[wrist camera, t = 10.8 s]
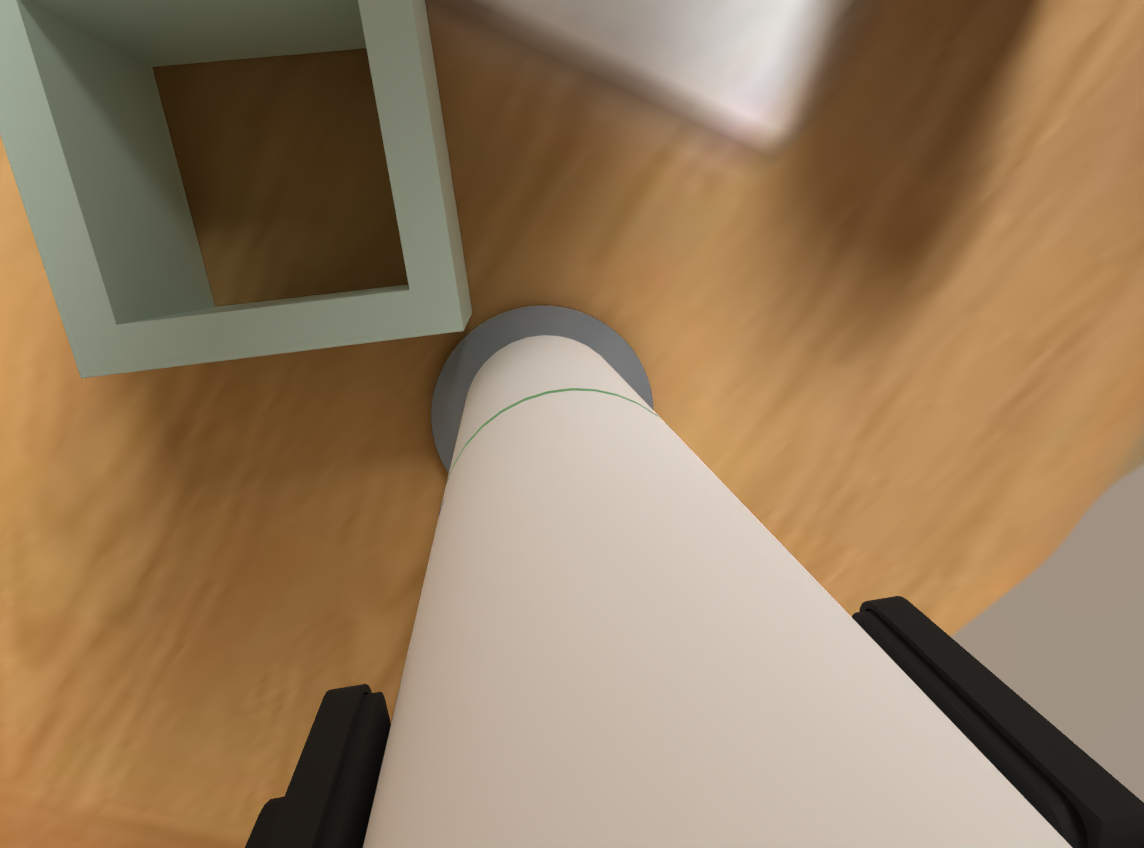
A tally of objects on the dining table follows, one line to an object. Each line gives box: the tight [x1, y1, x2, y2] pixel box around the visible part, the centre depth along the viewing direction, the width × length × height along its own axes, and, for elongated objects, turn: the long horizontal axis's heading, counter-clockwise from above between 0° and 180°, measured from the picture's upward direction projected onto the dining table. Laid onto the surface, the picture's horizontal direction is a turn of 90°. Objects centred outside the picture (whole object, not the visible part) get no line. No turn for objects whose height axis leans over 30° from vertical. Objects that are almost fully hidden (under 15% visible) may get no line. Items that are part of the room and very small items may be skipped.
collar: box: [0, 0, 472, 378], centre depth 22 cm, size 12×12×7 cm
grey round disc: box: [431, 305, 653, 474], centre depth 28 cm, size 10×10×1 cm
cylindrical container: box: [363, 335, 1072, 848], centre depth 16 cm, size 7×7×25 cm
